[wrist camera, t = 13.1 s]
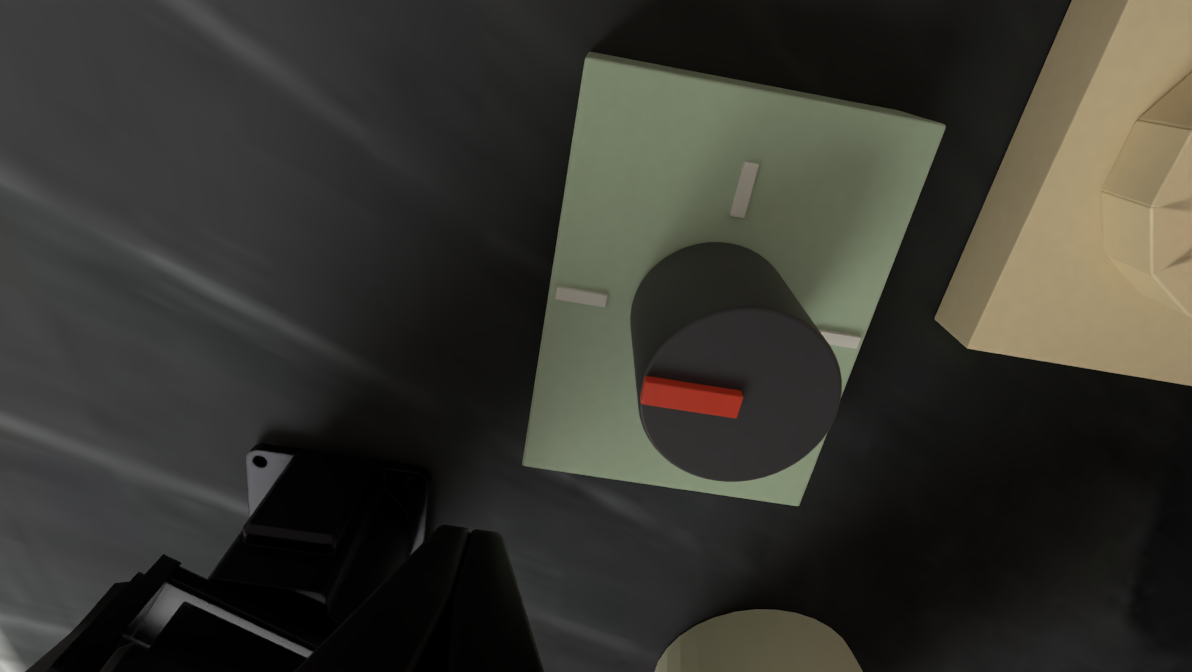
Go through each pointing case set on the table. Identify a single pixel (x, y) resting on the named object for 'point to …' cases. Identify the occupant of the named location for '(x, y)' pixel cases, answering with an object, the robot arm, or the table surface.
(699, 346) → the dial
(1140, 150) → the orange button cream base
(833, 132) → the dial panel
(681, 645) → the reusable coffee cup
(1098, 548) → the table surface
